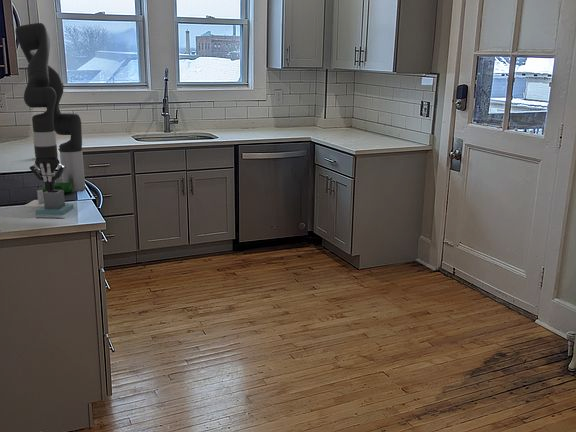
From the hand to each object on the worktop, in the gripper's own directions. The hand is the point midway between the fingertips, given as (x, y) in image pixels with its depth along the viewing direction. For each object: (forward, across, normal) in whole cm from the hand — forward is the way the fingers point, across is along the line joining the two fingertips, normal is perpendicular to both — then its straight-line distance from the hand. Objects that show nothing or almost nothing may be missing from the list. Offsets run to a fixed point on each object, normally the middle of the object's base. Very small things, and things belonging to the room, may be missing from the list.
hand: (50, 191), depth 218 cm
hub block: (+10, 0, -2) cm, 10 cm away
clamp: (+10, +11, -30) cm, 33 cm away
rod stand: (+10, +10, -14) cm, 20 cm away
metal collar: (+7, 0, -2) cm, 7 cm away
